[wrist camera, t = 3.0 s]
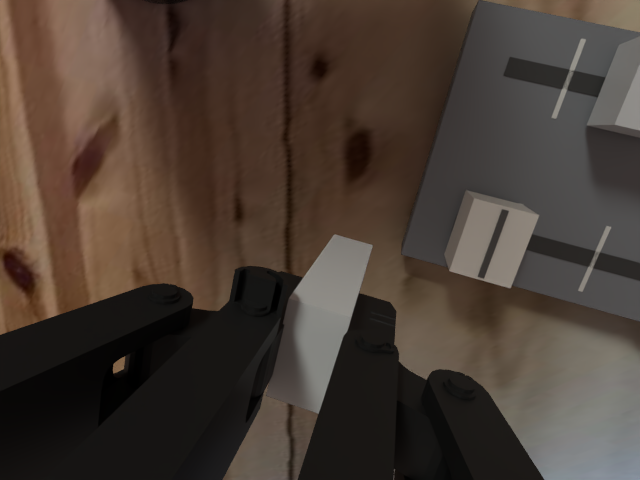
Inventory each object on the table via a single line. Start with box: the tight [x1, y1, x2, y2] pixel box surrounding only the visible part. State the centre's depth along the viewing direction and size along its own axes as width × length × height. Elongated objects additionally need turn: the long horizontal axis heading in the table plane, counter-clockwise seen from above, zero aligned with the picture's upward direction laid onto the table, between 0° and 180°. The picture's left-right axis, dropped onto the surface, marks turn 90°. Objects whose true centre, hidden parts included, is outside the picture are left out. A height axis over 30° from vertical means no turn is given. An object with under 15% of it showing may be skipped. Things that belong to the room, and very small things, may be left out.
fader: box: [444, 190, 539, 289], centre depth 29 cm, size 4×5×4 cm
